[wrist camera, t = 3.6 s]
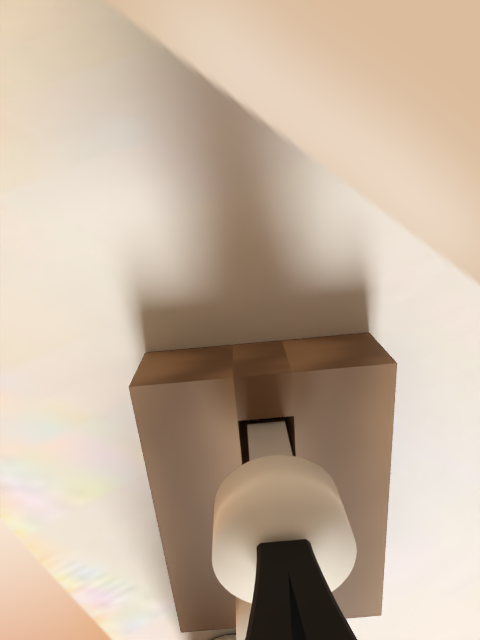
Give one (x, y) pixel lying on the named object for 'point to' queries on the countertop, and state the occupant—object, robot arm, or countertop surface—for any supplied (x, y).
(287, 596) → the robot arm
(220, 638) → the energy drink
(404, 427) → the countertop surface
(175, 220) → the countertop surface
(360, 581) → the block
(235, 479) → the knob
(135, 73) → the countertop surface
